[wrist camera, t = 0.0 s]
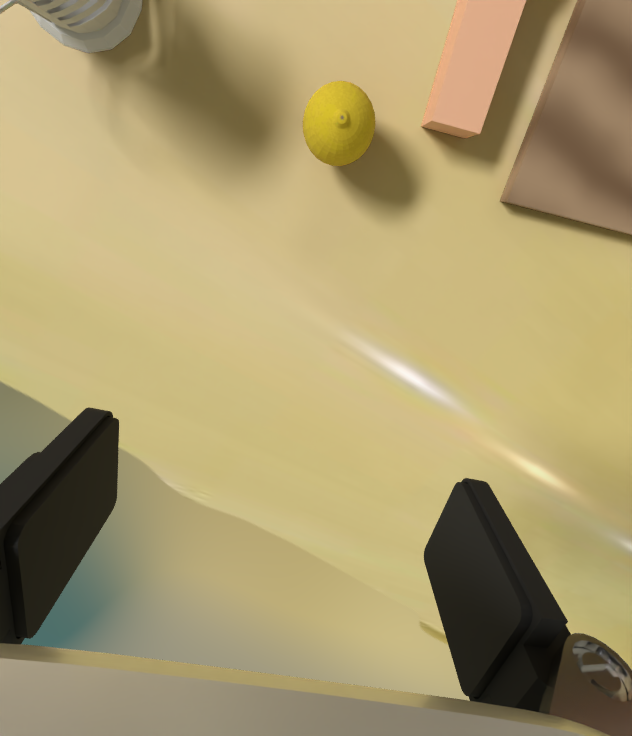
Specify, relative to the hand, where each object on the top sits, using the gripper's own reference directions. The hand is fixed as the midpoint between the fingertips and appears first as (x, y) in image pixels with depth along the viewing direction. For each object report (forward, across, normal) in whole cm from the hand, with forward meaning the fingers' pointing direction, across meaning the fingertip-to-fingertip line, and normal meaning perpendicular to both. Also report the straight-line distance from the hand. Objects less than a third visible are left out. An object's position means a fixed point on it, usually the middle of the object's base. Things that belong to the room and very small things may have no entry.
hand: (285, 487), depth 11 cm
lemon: (+31, 0, -12) cm, 34 cm away
